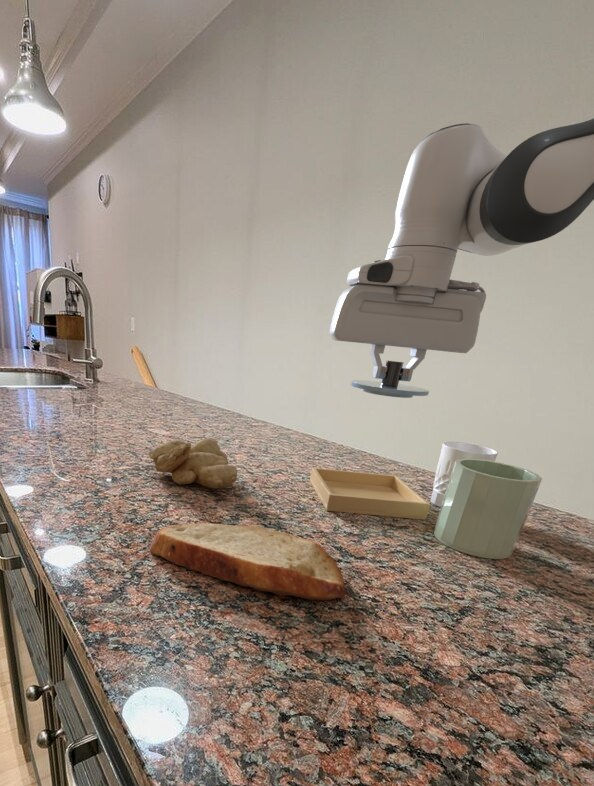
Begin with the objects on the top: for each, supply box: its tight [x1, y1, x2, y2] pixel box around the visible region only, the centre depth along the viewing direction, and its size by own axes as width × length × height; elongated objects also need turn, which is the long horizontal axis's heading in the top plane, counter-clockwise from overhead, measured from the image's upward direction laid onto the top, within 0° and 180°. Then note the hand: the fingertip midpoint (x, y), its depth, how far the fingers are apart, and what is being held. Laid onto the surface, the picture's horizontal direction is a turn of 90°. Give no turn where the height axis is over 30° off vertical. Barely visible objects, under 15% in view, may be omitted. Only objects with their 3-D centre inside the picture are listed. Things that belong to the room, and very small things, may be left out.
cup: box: [433, 459, 543, 560], centre depth 59 cm, size 10×10×10 cm
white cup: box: [430, 441, 499, 509], centre depth 73 cm, size 8×8×10 cm
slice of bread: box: [149, 522, 347, 601], centre depth 48 cm, size 18×18×4 cm
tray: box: [309, 467, 431, 521], centre depth 74 cm, size 15×14×3 cm
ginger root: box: [148, 438, 238, 490], centre depth 75 cm, size 16×16×8 cm
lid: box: [350, 359, 430, 399], centre depth 67 cm, size 11×11×5 cm
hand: (390, 379), depth 67 cm, fingers closed on lid, 2 cm apart
